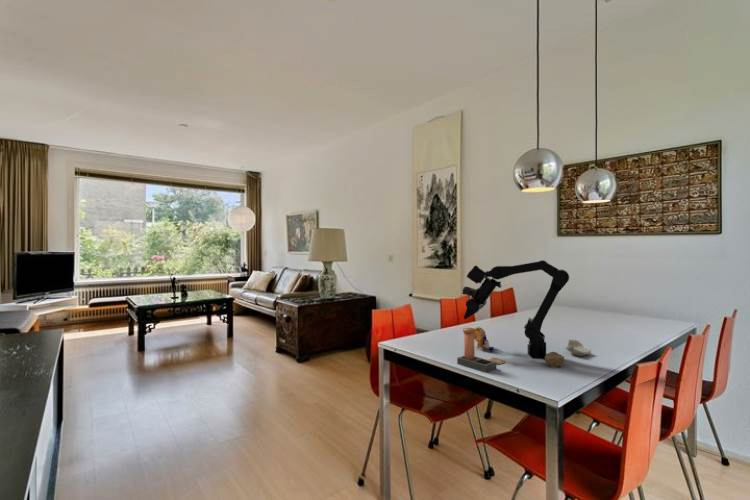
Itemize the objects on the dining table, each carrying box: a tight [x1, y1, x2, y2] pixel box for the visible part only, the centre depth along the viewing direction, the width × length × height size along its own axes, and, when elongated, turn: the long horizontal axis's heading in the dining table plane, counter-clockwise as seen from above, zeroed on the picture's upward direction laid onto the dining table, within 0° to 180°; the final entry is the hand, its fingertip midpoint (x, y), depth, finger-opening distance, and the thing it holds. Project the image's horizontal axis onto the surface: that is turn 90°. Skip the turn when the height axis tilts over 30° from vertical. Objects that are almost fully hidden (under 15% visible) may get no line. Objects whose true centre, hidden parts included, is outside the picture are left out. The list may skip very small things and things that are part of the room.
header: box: [456, 355, 497, 373], centre depth 144 cm, size 7×13×2 cm, turn 39°
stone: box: [544, 351, 565, 368], centre depth 147 cm, size 14×7×5 cm, turn 166°
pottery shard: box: [564, 339, 592, 357], centre depth 158 cm, size 10×11×5 cm
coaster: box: [484, 357, 505, 366], centre depth 150 cm, size 8×8×1 cm
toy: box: [473, 326, 495, 352], centre depth 169 cm, size 12×7×14 cm
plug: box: [462, 327, 476, 361], centre depth 146 cm, size 5×5×14 cm
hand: (466, 316), depth 169 cm, fingers open, 9 cm apart
